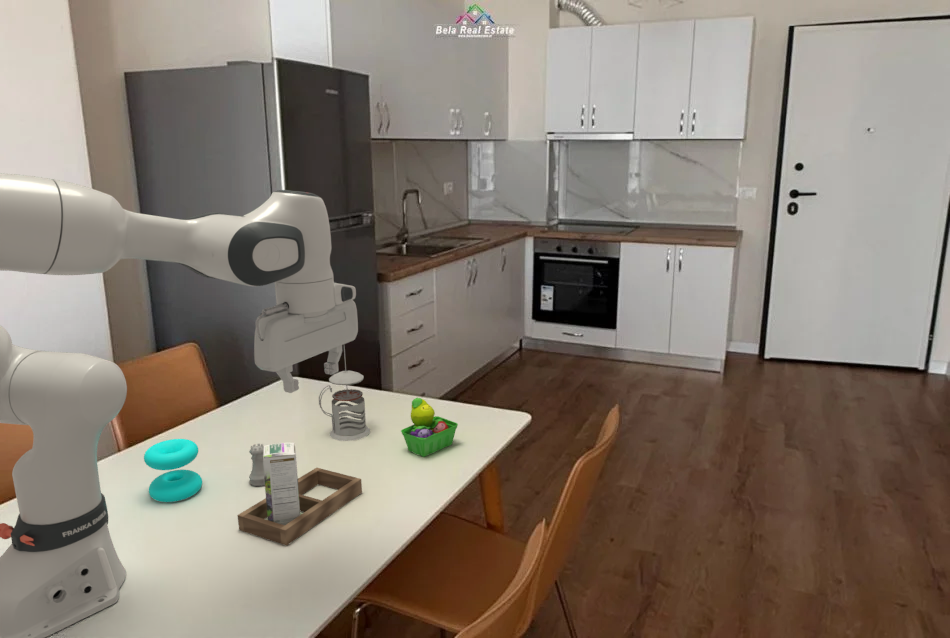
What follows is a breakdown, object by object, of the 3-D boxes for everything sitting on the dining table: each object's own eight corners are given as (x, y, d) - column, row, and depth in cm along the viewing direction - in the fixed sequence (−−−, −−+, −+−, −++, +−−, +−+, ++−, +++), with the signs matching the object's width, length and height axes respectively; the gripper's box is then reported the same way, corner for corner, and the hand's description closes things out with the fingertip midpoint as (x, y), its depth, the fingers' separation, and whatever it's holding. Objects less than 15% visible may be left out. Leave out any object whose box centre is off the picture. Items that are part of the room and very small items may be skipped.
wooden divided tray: (286, 545, 125) (285, 530, 124) (239, 530, 130) (237, 515, 129) (362, 492, 143) (361, 478, 142) (317, 480, 148) (316, 467, 147)
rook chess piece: (265, 488, 146) (261, 451, 144) (245, 486, 147) (241, 450, 145) (275, 477, 150) (272, 442, 148) (256, 476, 151) (252, 441, 149)
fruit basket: (423, 461, 156) (421, 412, 154) (396, 449, 162) (394, 402, 160) (460, 444, 164) (458, 398, 162) (433, 434, 170) (432, 389, 168)
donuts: (139, 461, 136) (146, 440, 145) (146, 508, 138) (152, 485, 148) (196, 453, 139) (198, 433, 148) (201, 500, 141) (204, 477, 151)
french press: (375, 436, 170) (369, 334, 163) (325, 445, 165) (317, 340, 159) (365, 421, 178) (359, 324, 172) (318, 429, 174) (310, 330, 168)
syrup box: (268, 516, 134) (261, 444, 130) (300, 511, 136) (294, 440, 132) (268, 532, 129) (261, 457, 125) (302, 527, 130) (296, 453, 127)
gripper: (272, 313, 100) (280, 406, 103) (362, 286, 117) (367, 366, 121) (239, 309, 103) (248, 399, 106) (332, 282, 120) (337, 361, 124)
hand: (312, 381), depth 114 cm, fingers open, 8 cm apart
